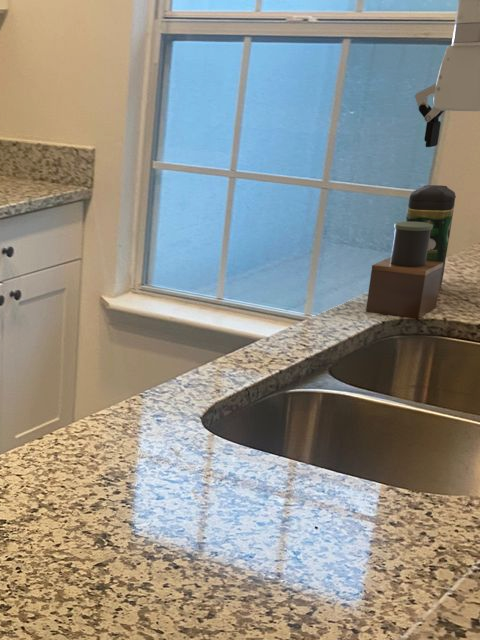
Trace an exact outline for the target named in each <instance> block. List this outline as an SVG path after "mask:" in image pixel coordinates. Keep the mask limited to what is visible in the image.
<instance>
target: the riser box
mask: <svg viewBox="0 0 480 640" xmlns="http://www.w3.org/2000/svg"><path fill="white" fill-rule="evenodd" d="M390 262H391V256H390V257H387V258H385V259H383V260H381V261H378V262H376V263H374V264H372V265H371V271H370V280H369V285H368V293H367V298H366V300H367V301H366V307H365V311H366V312H370V313H377V314H384V315H391V316H399V317H404V318H405V317H407V318H414V319H420V318H422V317H423V316H425V315H426V314H428V313H430V312H431V311H433V310H435V309H436V308H437V305H438V298H439V292H440V288H441V287H440V281H441V275H442V269H443V263H444V262H437V261H427V260H426V264H425V265H424V266H419V267H405V266H397V265H393V264H391V263H390ZM439 287H440V288H439Z"/></svg>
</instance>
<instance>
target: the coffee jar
mask: <svg viewBox="0 0 480 640" xmlns="http://www.w3.org/2000/svg"><path fill="white" fill-rule="evenodd" d="M456 198H457V196H456V192H455V191H454V190H452V189H451V188H449V187H448V186H447V185H439V184H426V185H423V186H422V187H420V188H416V189H415V190H413V191H412V192H411V193H410V194H409V198H408V204H407V210H406V215H405V216H406V217H405V222H425V223H430V224H433V228H432V229H431V233H430V239H429V245H428V251H427V258H426V260H427V261H437V262H444V263H443V269H442V275H441V281H440V287H439V289H440V288H441V287H442V284H443V279H444V274H445V273H444V272H445V266H446V260H447V253H448V248H449V241H450V236H451V229H452V224H453V216H454V210H455V203H456V202H455V201H456Z"/></svg>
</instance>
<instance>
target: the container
mask: <svg viewBox="0 0 480 640" xmlns="http://www.w3.org/2000/svg"><path fill="white" fill-rule="evenodd" d="M393 226H394V235H393V243H392V247H391V255H390V257H391V262H390V263H391V264H393V265H397V266H405V267H419V266H424V265H425V264H426V258H427V251H428V245H429V239H430V233H431V229H432V228H433V224H430V223H425V222H406V221H398V222H395V223H394V225H393Z"/></svg>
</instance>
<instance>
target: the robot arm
mask: <svg viewBox="0 0 480 640" xmlns="http://www.w3.org/2000/svg"><path fill="white" fill-rule="evenodd" d="M456 7H457V8H456V13H455V20H454V28H453V33H452V41H451V45H448V46H446V49H445V52H444V55H443V57H442V60H441V63H440V67H439V71H438V75H437V79H436V83H434V84H433V85H430V86H428V87H426V88H424V89H421V91H419V92H417V93H415V95H414V98H415V101H416V104H417V107H418V111H419V113H420V115H422V117H423V120H424V122H426V126H425V133H424V138H423V139H424V142H425V148H432V147H436V146H438V144H439V143H438V142H439V137H440V132H441V131H440V130H441V125H442V123H441V120H439V118H440V117H442V115H443V114H444V113H446V112H447V111H451V112H480V0H458V1H457V6H456ZM432 95H433V107H432V106H430V104H429V103H428V98H429V97H431V96H432Z"/></svg>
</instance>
